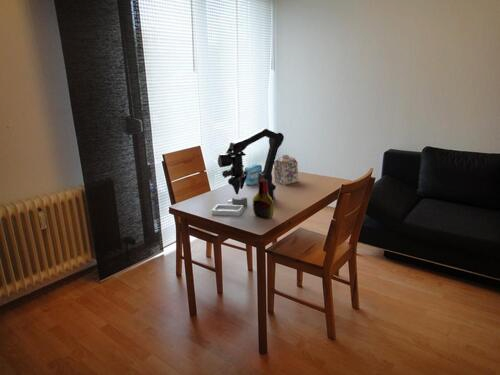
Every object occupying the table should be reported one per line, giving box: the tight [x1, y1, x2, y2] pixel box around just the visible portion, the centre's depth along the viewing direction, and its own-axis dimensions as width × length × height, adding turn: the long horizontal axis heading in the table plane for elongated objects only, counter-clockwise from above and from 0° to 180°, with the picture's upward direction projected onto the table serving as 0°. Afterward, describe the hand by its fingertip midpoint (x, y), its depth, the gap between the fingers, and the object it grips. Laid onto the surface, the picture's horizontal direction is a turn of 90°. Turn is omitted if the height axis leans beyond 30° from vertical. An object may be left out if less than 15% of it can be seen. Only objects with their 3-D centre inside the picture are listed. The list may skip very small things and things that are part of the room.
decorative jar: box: [273, 154, 299, 186], centre depth 237 cm, size 12×12×18 cm
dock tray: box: [211, 204, 245, 217], centre depth 192 cm, size 15×9×2 cm, turn 76°
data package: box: [244, 163, 263, 186], centre depth 239 cm, size 12×4×12 cm, turn 134°
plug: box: [227, 196, 248, 207], centre depth 201 cm, size 11×4×4 cm, turn 76°
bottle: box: [252, 179, 275, 219], centre depth 180 cm, size 12×6×20 cm, turn 50°
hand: (239, 191), depth 199 cm, fingers open, 9 cm apart
